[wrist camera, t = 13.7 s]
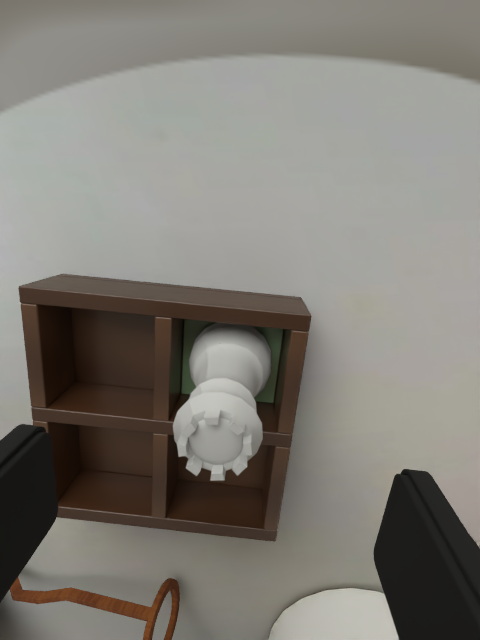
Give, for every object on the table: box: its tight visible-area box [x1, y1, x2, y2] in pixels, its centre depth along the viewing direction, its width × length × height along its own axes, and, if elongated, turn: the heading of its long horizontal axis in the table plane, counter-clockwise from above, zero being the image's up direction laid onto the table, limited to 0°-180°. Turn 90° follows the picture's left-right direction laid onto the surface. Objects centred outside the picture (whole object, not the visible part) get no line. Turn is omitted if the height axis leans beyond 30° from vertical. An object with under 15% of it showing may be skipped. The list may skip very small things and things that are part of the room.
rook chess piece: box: [173, 323, 272, 481], centre depth 15 cm, size 4×4×8 cm
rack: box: [19, 274, 311, 541], centre depth 19 cm, size 13×13×4 cm
